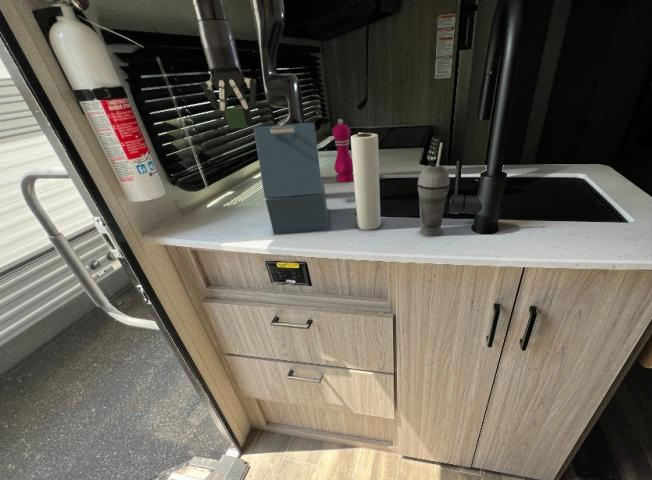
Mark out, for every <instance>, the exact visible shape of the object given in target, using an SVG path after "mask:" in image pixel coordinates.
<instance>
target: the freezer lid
mask: <svg viewBox="0 0 652 480" xmlns="http://www.w3.org/2000/svg"><path fill="white" fill-rule="evenodd" d="M253 132H254V133H253V134H254V138H255V146H256V151H257V158H258V164H259V170H260V176H261V183H262V189H263V197H264V199H266V198H277V197H289V196H300V195H311V194H322V193H323V192H322V183H321V179H322V174H321V167H320V158H319V149H318V142H317V133H316V125H315V122H304V123H301V124H288V125H277V124H275V125H263V126H253Z"/></svg>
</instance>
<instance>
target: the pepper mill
mask: <svg viewBox="0 0 652 480" xmlns="http://www.w3.org/2000/svg"><path fill="white" fill-rule="evenodd" d="M350 135H351V130H350V128H349V126H348V125H347V124H344V120H343V119H342V118H338V120H337V124H336V125H334V127H333V128H332V136H333V138H334V139H335V140H334V142H335V143H334V145H335V146H336V150H337V151H336V153H337V154H336V159H335V162H334V172H336V174H337V175H336V180H337V182H339V183H349V182H350V183H351V182H354V174H353V160H352V155H350V151H349V145H350V139H349V138H350V137H351V136H350Z"/></svg>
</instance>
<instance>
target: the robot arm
mask: <svg viewBox="0 0 652 480" xmlns="http://www.w3.org/2000/svg"><path fill="white" fill-rule="evenodd" d="M249 2H250V7H251V12H252V17H253V22H254V26H255V33H256V38H257V43H258V44H257V45H258V50H259V57H260V66H261V75H262V83H263V90H264V94H265V98H266V101H267V103H268V105H269V106H270V107H271V108H273V109H288V114H287V116H286V117H284V118H282V119H280V120H279V121H277V122H276V125H288V124H301V123H305V112H304V105H303V104H304V103H303V95H302V88H301V83H300V80H299V78H298V76H297V75H296V74H295V73H291V72H289V73H278V68H277V67H278V66H277V65H278V64H277V56H278V49H279V46H280V43H281V40H282V37H283V33H284V29H285V24H286V12H285V4H284V0H249ZM191 4H192V8H193V11H194V15H195V18H196V23H197V26H198V33H199V37H200V42H201V46H202V48H203V52H204V56H205V58H206V63H207V66H208V69H209V72H210V73H209V74H210V78H209V80H207V81H203V82H201V83H200V87H201V88H202V90H203V92H204V94H205V97H207V100H208V101H209V103H210V105H211V107H212V108H213V109H214V110H215V109H216V110H219V111H220V112H221V114H222V118H223V121H224V124H225V125H227V127H228V128H230V127H229V124H228V120H227V116H226V113H225V109H227V108H228V101H229V97H230V96H237V99H238V101H239V102H240V104H241V105H242V106H241V107H244V114H245V118H246V122H247V125H249V126H251V125H252V123H253V121H254V119H253V115H252V111H251V109H252V107H254V106H255V105H256V104H257V80H256V79H255V78H249V77H246V76H245V74H244V73H243V70H242V67H241V62H240V59H239V55H238V53H239V52H238V50H237V46H236V40H235V38H234V37H235V36H234V33H233V30H232V28H231V24H230V19H229V16H228V11H227V8H226V3H225V0H191ZM245 84H246V87H247V88H248V89H249V98H248V99H249V101H248V99H247V97H246V95H245V92H244V91H243V89H244V86H245ZM213 86H214V87H215V89H216V90H217V91H218V92H219V93H218V95H219V96H218V98H219V100H218V99H217V97H216V95H215V93H214V92H213V90H214V87H213Z"/></svg>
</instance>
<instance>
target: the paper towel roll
mask: <svg viewBox="0 0 652 480" xmlns="http://www.w3.org/2000/svg"><path fill="white" fill-rule="evenodd" d="M350 147H351V159H352V161H353V172H352V174H354V180H353V185H354V199H355V210H356V211H355V212H356V224H357V227H358V228H359V229H361V230H366V231H368V230H369V231H370V230H376V229H378V228H379V227H380V226H381V222H382V221H381V193H380V192H381V191H380V189H381V188H380V159H379V158H380V156H379V155H380V154H379V135H378V133H371V132H358V133H357V134H353V135H351V136H350Z"/></svg>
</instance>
